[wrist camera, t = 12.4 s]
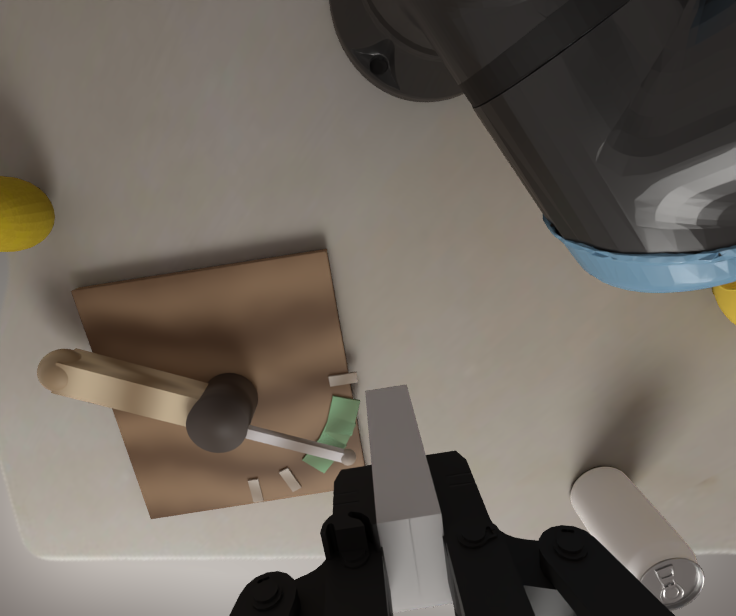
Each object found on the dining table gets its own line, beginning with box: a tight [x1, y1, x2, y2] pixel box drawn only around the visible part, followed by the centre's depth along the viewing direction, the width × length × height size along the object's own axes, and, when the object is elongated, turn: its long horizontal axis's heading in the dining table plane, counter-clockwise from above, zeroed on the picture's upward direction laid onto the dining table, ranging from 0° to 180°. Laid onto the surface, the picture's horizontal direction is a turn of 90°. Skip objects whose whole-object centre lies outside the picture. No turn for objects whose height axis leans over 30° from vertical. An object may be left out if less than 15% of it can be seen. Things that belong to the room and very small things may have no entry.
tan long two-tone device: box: [37, 348, 356, 466], centre depth 42 cm, size 27×5×5 cm, turn 72°
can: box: [571, 467, 705, 611], centre depth 45 cm, size 6×6×12 cm
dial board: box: [71, 249, 365, 519], centre depth 45 cm, size 24×23×1 cm
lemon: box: [0, 176, 55, 252], centre depth 36 cm, size 6×6×8 cm
